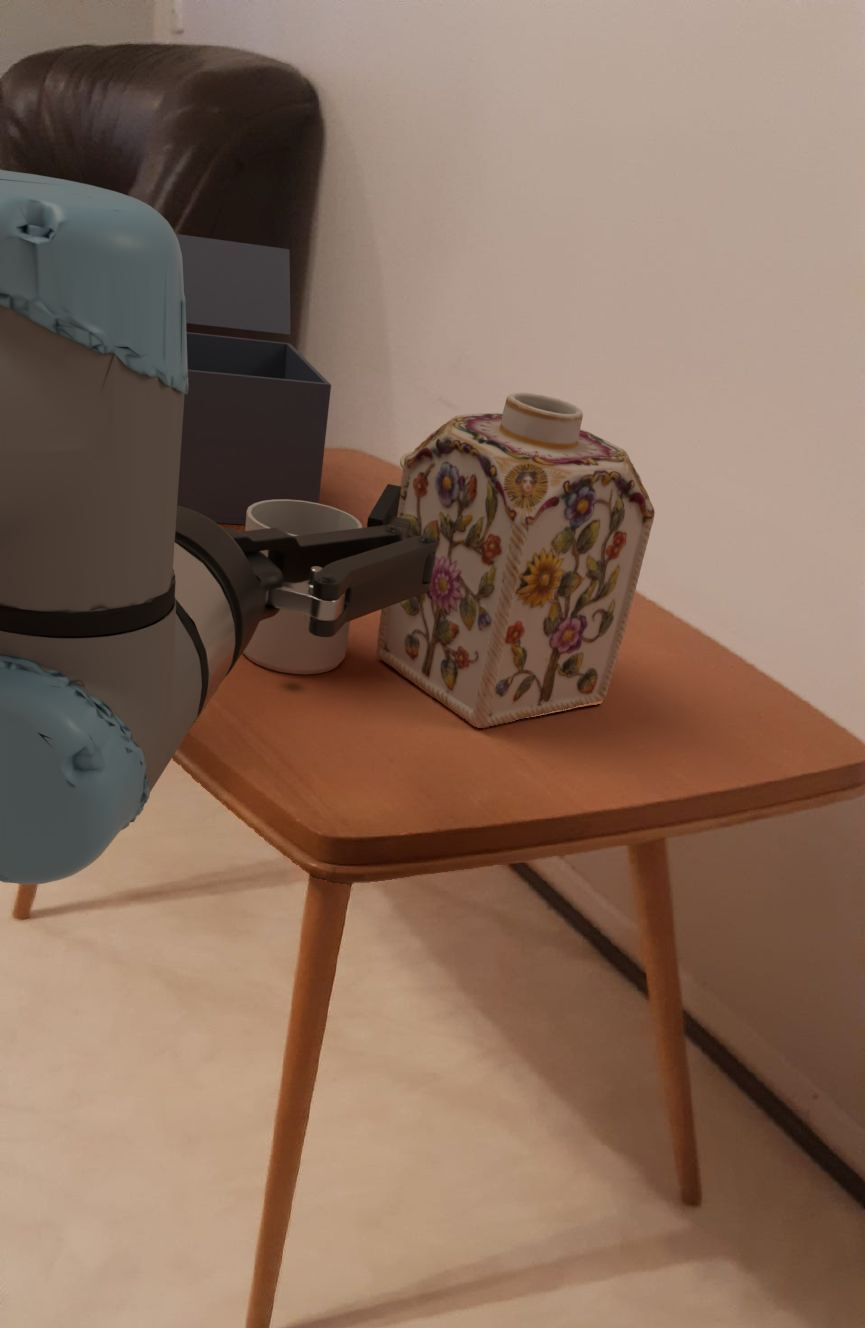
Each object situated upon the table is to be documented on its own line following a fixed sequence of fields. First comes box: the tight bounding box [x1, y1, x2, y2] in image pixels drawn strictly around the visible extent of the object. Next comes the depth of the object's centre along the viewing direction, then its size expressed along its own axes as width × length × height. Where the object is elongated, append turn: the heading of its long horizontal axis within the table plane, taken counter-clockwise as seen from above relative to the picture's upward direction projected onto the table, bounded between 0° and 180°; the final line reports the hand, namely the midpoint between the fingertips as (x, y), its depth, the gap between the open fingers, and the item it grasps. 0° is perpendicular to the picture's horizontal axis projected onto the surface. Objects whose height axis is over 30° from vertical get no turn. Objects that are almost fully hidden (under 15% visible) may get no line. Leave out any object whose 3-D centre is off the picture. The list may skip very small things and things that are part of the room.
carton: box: [177, 331, 332, 526], centre depth 101 cm, size 16×14×11 cm
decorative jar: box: [376, 392, 656, 729], centre depth 77 cm, size 12×12×18 cm
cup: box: [242, 499, 363, 675], centre depth 79 cm, size 7×10×9 cm
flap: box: [175, 233, 292, 336], centre depth 102 cm, size 16×7×1 cm
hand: (269, 485), depth 66 cm, fingers open, 13 cm apart
